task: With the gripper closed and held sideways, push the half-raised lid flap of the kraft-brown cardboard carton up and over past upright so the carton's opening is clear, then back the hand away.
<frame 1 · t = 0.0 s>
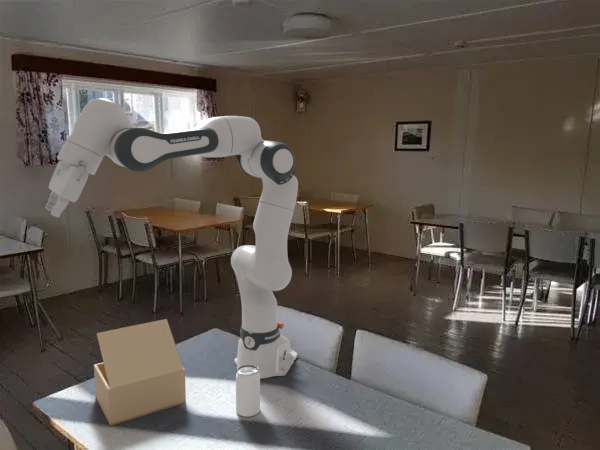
hand: (51, 213, 110), 54 cm above the table, tool tilted 30°, fingers open, 8 cm apart
carton flap: (140, 351, 127), point 15 cm above the table, hinge at 40.0°
carton: (140, 400, 132), on the table
can: (248, 411, 128), on the table
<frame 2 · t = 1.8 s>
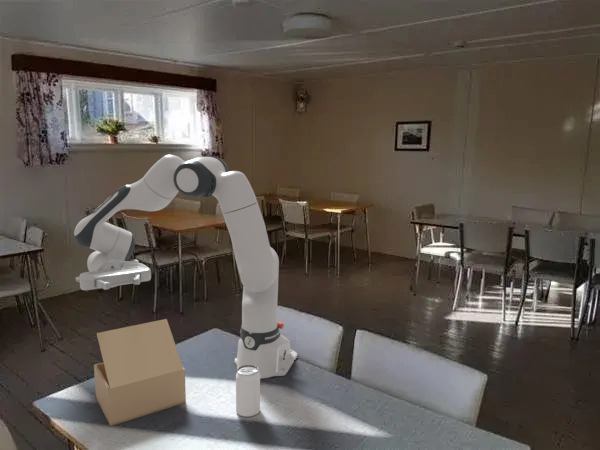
hand: (122, 284, 137), 30 cm above the table, tool horizontal, fingers open, 7 cm apart
nothing on the table moved.
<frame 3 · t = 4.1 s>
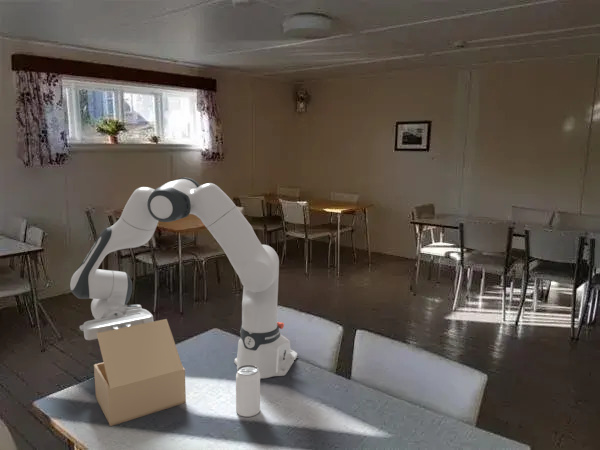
hand: (125, 333, 139), 15 cm above the table, tool horizontal, fingers closed
nothing on the table moved.
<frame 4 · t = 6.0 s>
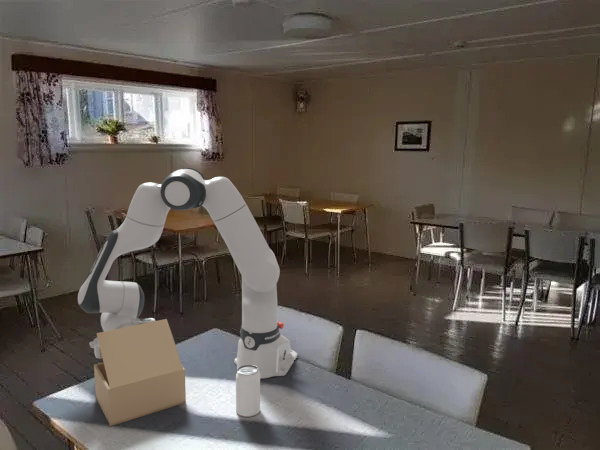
hand: (139, 351, 128), 15 cm above the table, tool horizontal, fingers closed, pressing on carton flap
carton flap: (140, 351, 127), point 15 cm above the table, hinge at 40.0°, touching gripper
everything else where it was.
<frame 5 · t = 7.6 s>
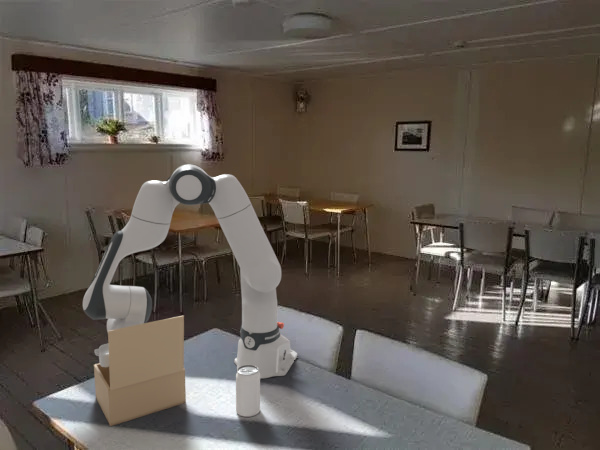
hand: (146, 360, 122), 16 cm above the table, tool horizontal, fingers closed, pressing on carton flap
carton flap: (148, 351, 121), point 18 cm above the table, hinge at 94.1°, touching carton, gripper
everything else where it was.
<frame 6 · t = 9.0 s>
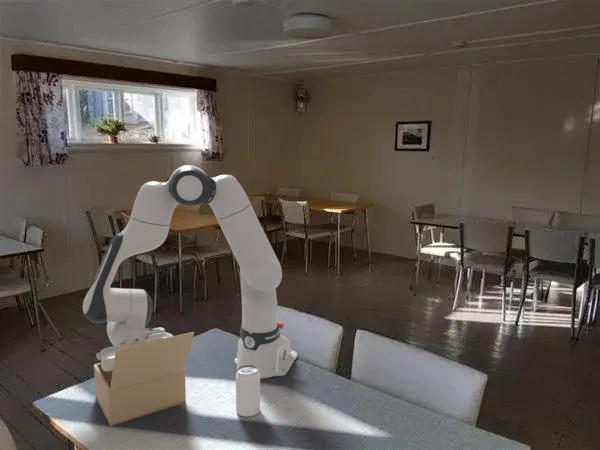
hand: (149, 363, 121), 15 cm above the table, tool horizontal, fingers closed
carton flap: (152, 360, 119), point 17 cm above the table, hinge at 119.8°, touching carton
everything else where it was.
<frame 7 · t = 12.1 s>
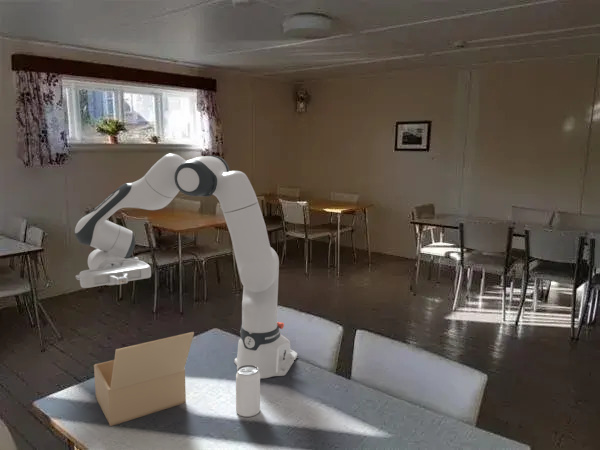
hand: (122, 281, 136), 31 cm above the table, tool horizontal, fingers closed
nothing on the table moved.
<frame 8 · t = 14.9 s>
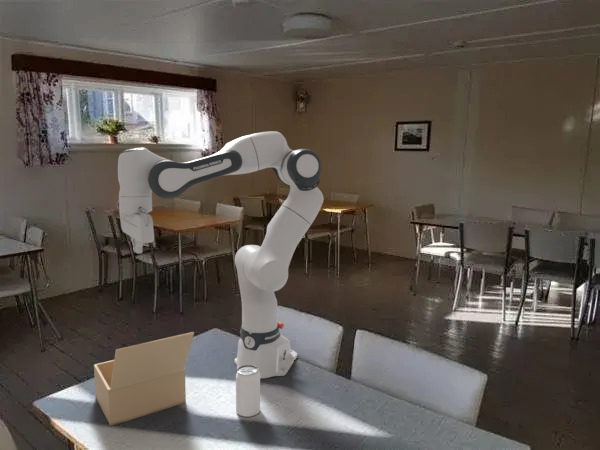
hand: (138, 252, 137), 39 cm above the table, tool pointing down, fingers closed
nothing on the table moved.
at the end: carton flap at +120° (first picture: +40°); can moved 0.2 cm from its start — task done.
